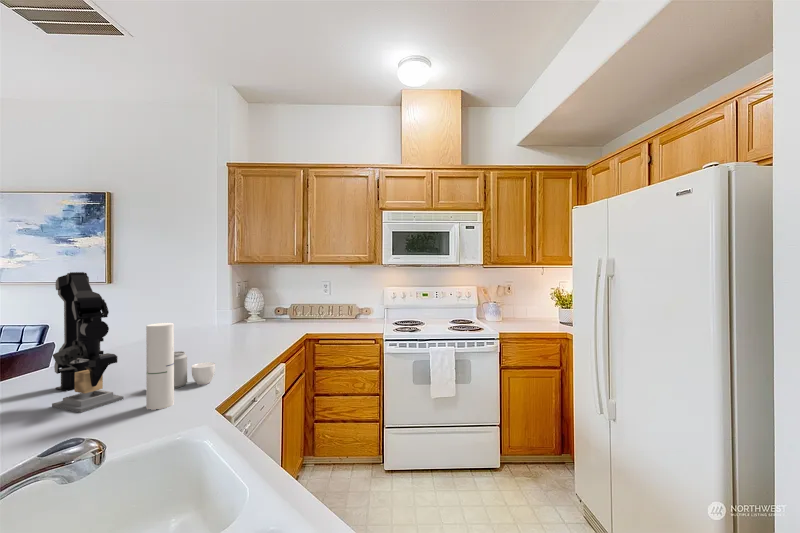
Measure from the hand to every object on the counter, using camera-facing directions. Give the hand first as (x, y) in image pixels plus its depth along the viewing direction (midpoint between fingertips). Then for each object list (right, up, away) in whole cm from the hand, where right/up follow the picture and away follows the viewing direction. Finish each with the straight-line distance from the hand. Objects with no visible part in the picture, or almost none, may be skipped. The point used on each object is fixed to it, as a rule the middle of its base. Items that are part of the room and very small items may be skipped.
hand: (88, 385), depth 118 cm
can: (+17, -6, +17) cm, 25 cm away
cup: (+25, -6, +20) cm, 33 cm away
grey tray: (0, -6, 0) cm, 6 cm away
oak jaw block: (0, -2, 0) cm, 2 cm away
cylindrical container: (+25, -6, -3) cm, 25 cm away
